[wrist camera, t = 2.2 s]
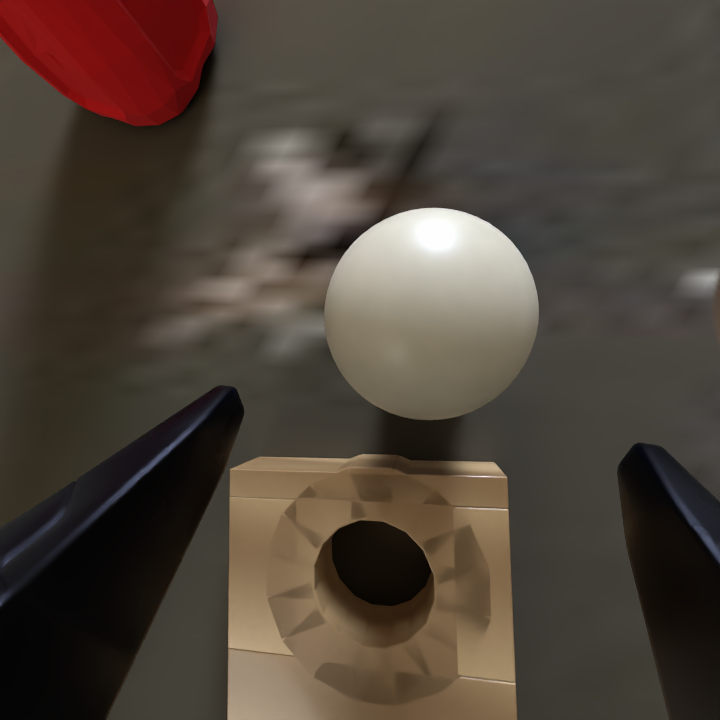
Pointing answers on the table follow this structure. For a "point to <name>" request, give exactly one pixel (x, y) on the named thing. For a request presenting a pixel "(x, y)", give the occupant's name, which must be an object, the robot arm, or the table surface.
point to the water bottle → (115, 51)
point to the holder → (357, 617)
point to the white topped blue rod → (431, 314)
